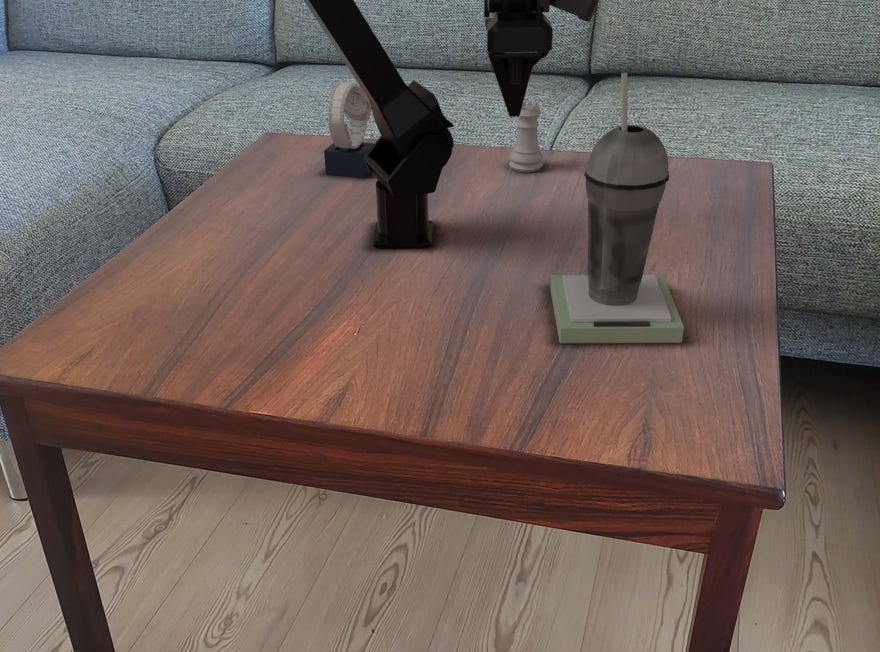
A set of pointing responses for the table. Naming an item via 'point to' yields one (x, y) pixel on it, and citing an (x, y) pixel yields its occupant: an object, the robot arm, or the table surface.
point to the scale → (615, 313)
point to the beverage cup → (622, 207)
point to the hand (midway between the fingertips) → (512, 103)
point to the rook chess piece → (527, 141)
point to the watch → (347, 146)
